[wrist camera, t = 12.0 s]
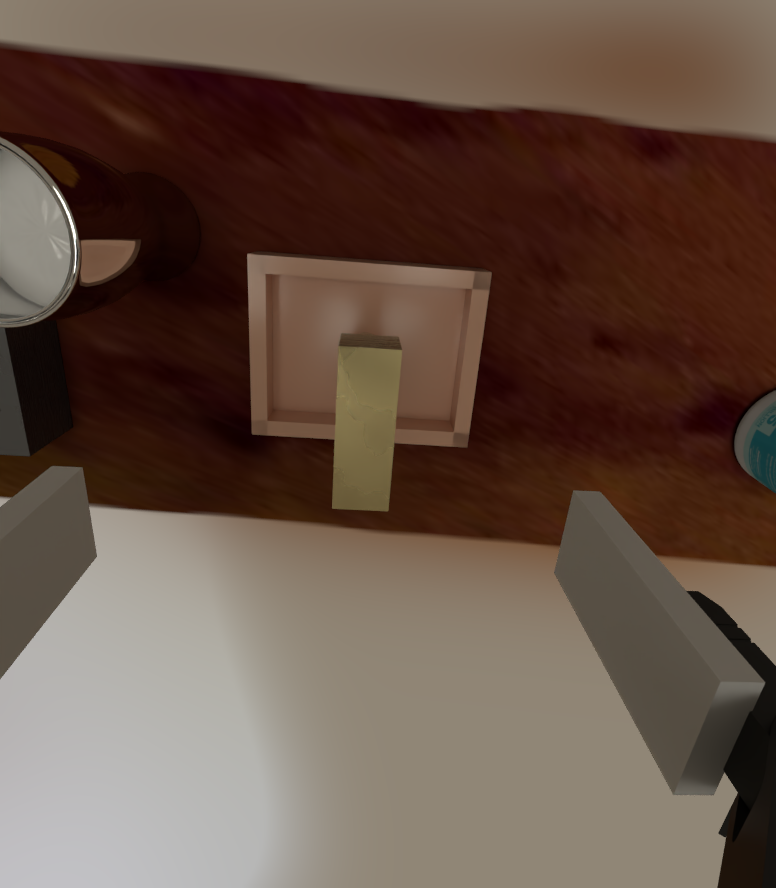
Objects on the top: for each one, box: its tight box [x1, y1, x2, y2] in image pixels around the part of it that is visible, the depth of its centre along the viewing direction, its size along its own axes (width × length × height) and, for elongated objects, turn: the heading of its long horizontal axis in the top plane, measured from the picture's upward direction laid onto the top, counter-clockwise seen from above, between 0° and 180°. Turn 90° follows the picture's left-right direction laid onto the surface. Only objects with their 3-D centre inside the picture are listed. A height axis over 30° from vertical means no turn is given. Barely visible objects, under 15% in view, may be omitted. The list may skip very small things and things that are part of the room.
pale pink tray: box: [247, 251, 492, 447], centre depth 34 cm, size 14×11×3 cm
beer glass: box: [0, 131, 200, 328], centre depth 26 cm, size 7×7×15 cm
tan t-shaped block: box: [332, 332, 402, 511], centre depth 28 cm, size 7×2×14 cm, turn 176°
